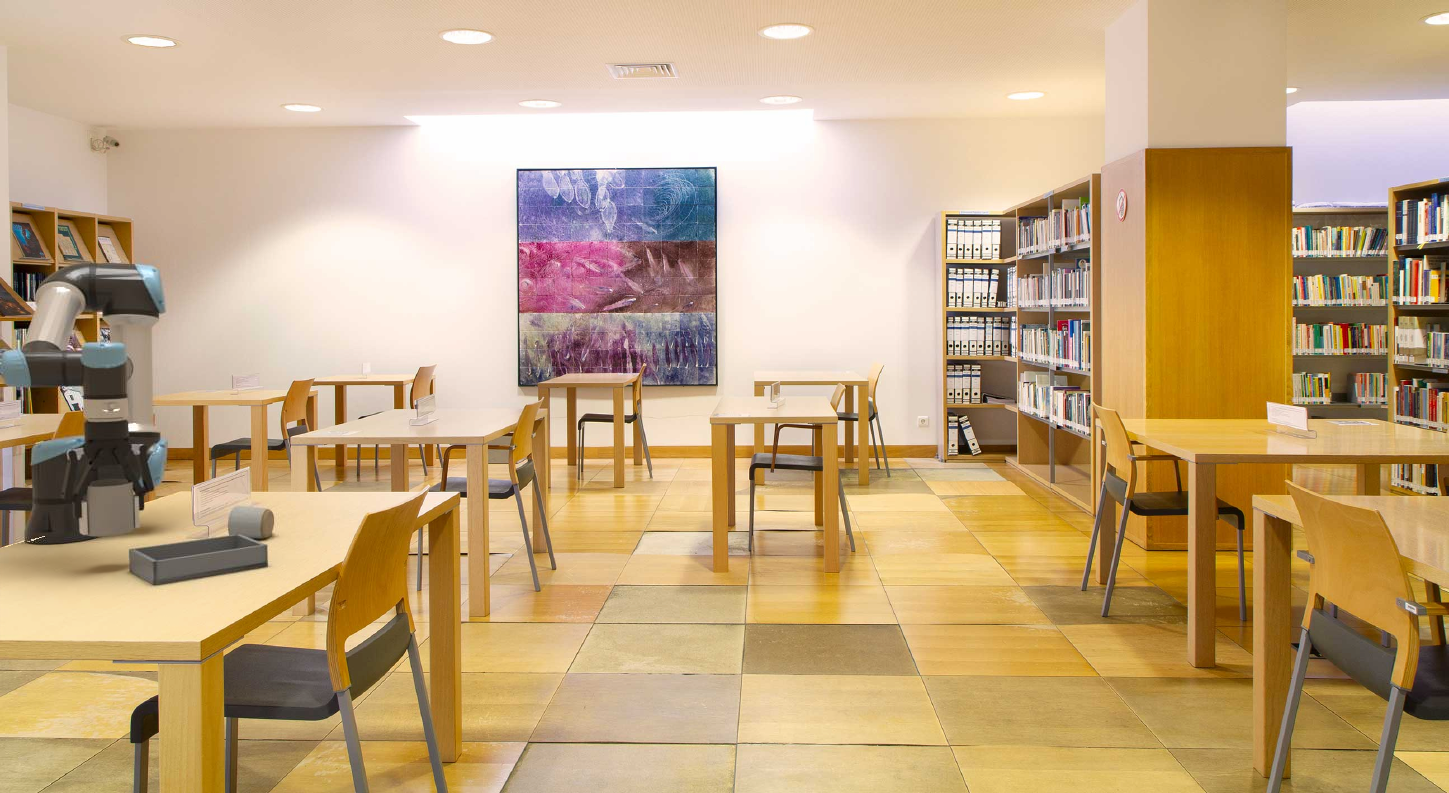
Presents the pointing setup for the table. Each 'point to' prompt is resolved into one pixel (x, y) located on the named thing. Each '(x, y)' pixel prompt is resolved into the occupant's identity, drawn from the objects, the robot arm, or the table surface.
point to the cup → (109, 507)
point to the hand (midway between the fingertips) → (110, 529)
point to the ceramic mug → (251, 522)
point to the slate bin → (197, 558)
